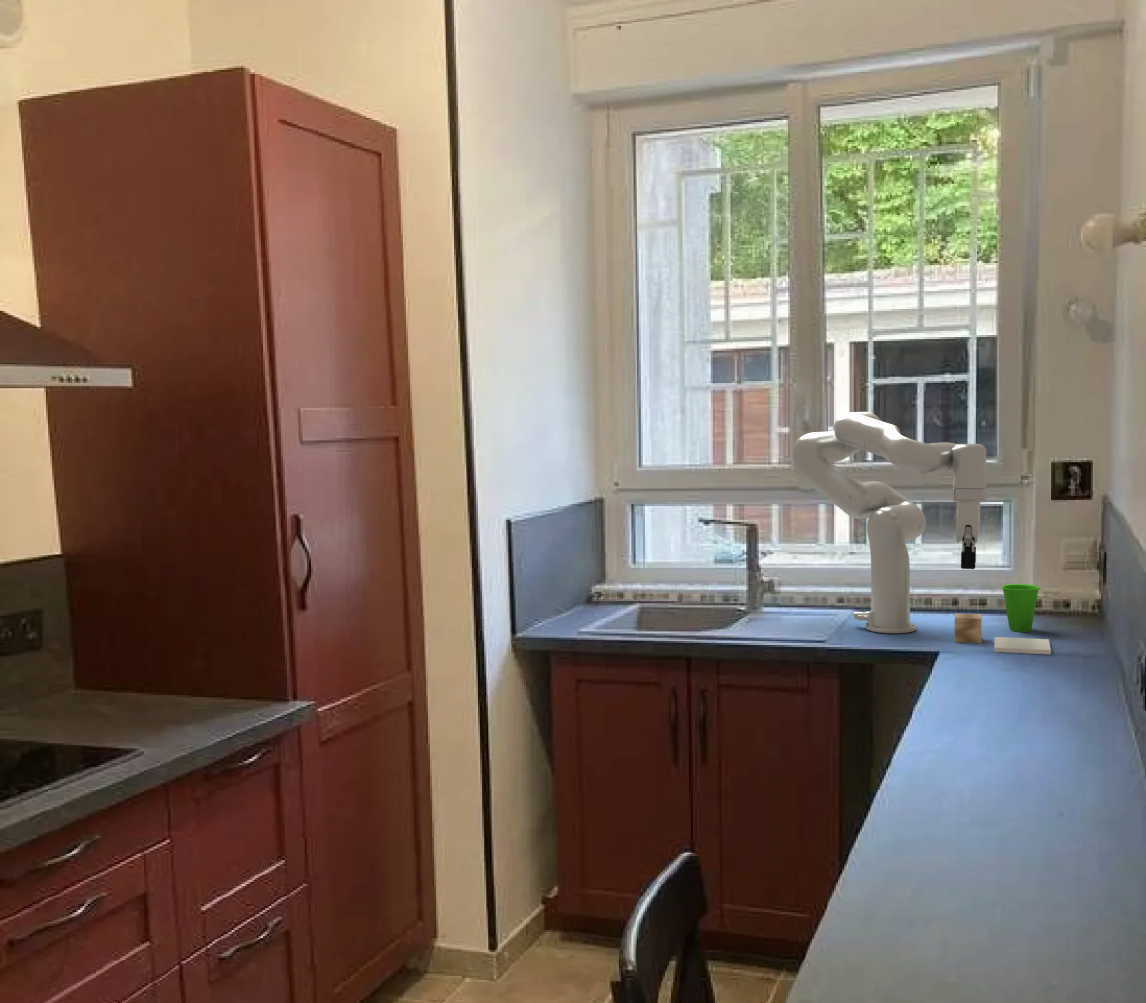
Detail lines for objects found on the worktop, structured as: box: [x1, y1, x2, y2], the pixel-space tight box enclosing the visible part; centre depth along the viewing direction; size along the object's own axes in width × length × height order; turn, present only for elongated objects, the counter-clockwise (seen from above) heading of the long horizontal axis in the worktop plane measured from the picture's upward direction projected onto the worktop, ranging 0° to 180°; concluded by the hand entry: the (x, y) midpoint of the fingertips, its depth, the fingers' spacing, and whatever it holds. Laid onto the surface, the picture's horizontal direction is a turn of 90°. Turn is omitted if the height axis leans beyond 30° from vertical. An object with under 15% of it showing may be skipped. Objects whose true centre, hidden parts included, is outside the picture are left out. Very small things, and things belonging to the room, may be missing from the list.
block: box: [954, 612, 983, 644], centre depth 269 cm, size 6×6×6 cm
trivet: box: [993, 636, 1052, 655], centre depth 259 cm, size 12×12×1 cm
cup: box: [1001, 583, 1041, 633], centre depth 278 cm, size 9×9×11 cm
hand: (968, 565), depth 267 cm, fingers open, 9 cm apart
